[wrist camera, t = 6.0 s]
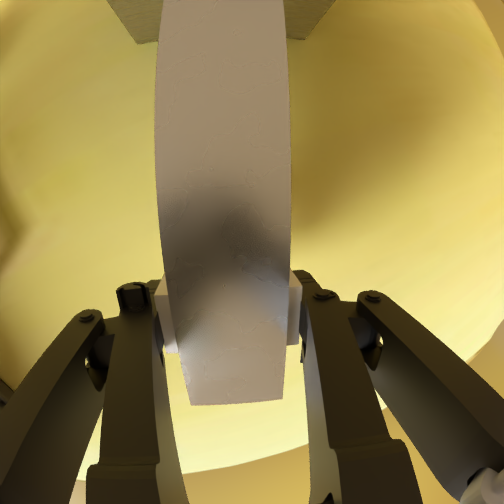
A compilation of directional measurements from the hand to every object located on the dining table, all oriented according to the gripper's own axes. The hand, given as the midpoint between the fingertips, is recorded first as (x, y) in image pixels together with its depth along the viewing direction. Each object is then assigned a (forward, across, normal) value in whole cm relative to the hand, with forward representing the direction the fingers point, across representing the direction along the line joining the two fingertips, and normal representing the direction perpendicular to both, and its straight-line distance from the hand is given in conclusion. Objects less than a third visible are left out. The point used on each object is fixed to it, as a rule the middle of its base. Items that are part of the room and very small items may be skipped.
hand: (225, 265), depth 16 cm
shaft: (-3, 0, -9) cm, 10 cm away
